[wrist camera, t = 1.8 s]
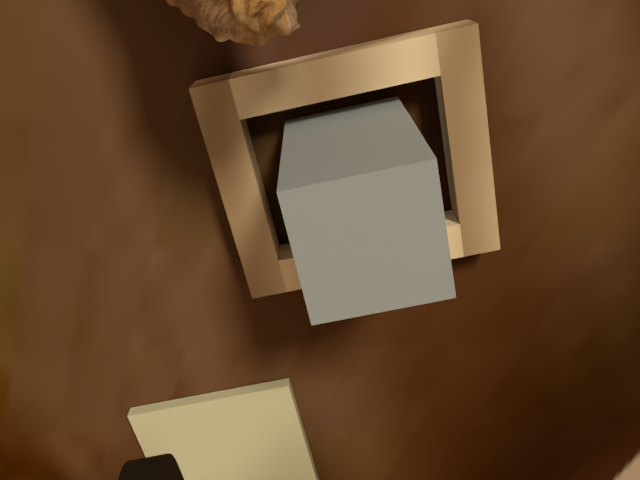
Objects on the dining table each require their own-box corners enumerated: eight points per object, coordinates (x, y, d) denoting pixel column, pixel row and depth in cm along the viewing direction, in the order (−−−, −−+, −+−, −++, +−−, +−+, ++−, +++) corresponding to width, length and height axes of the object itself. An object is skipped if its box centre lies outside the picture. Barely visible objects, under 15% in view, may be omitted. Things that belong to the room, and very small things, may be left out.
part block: (397, 95, 24) (436, 158, 17) (414, 200, 26) (455, 297, 19) (285, 120, 24) (276, 192, 17) (309, 222, 26) (311, 325, 19)
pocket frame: (467, 19, 23) (477, 23, 21) (490, 234, 27) (500, 249, 25) (195, 80, 24) (188, 88, 22) (254, 281, 27) (252, 298, 26)
